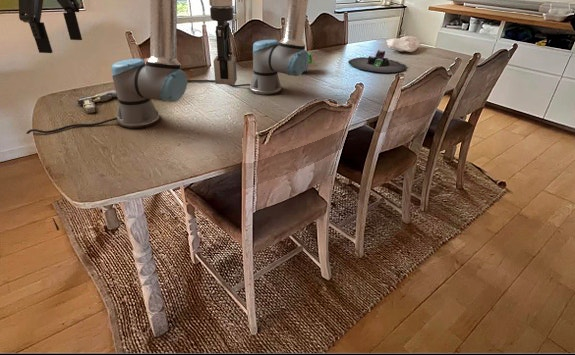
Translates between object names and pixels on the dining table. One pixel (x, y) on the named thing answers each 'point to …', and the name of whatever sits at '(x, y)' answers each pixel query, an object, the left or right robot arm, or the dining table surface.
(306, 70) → the snack cup
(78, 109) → the dining table surface
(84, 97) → the handgun
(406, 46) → the crumpled cloth
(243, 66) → the dining table surface
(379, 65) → the dark round tray
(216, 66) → the brick
